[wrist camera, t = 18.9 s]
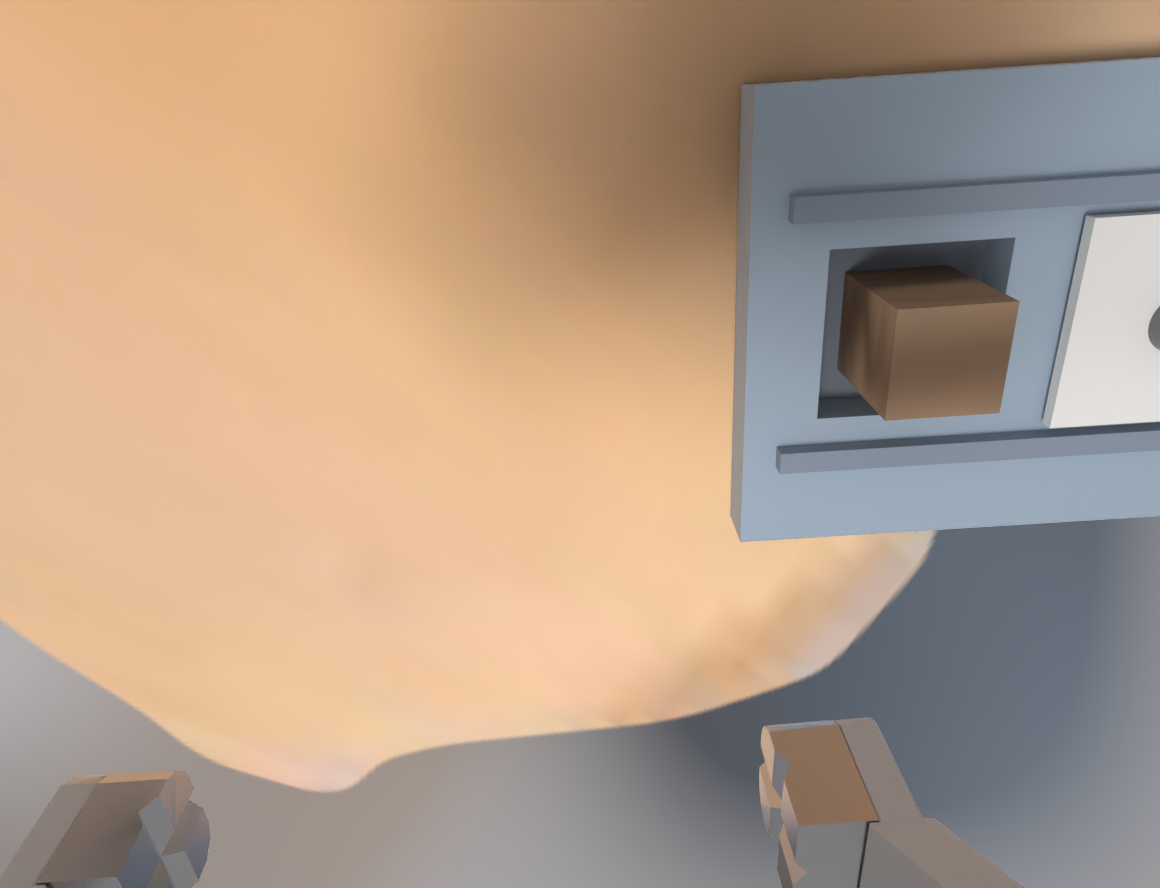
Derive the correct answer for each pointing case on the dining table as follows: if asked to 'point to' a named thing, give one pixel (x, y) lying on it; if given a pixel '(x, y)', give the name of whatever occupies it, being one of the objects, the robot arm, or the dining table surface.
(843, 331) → the walnut block
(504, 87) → the dining table surface
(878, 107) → the puzzle board
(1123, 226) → the lid
